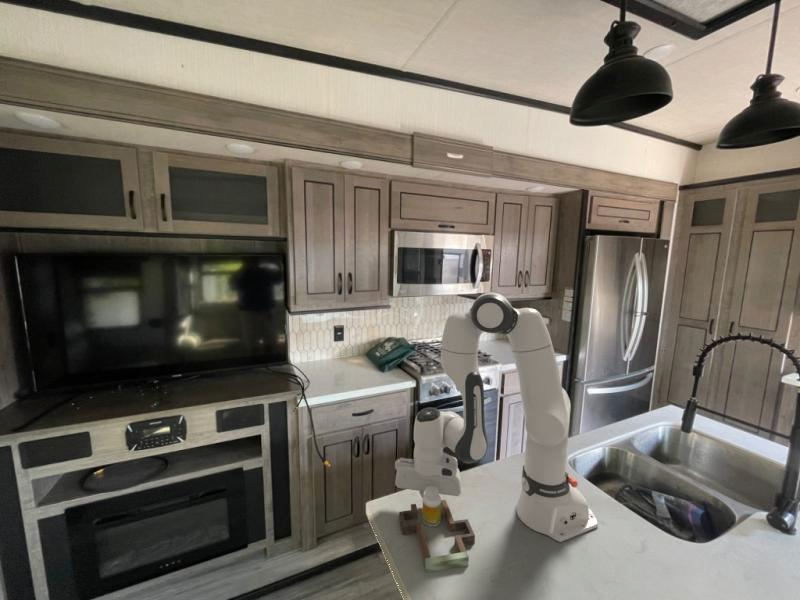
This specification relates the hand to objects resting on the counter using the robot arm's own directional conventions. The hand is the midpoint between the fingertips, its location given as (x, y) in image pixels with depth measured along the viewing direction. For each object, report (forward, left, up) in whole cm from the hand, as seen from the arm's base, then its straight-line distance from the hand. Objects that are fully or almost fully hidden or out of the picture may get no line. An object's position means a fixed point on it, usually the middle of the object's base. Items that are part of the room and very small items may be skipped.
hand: (427, 501), depth 103 cm
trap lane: (0, +11, -2) cm, 11 cm away
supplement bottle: (0, +5, -2) cm, 5 cm away
